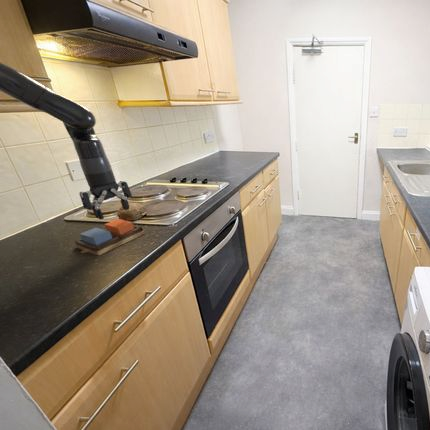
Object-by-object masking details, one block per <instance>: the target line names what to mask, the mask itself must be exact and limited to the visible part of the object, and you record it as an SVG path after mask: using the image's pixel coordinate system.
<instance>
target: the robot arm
mask: <svg viewBox="0 0 430 430" xmlns="http://www.w3.org/2000/svg"><path fill="white" fill-rule="evenodd" d="M0 92H1V93H3V94H4V95H7V96H9V97H11V98H13V99H14V100H17V101H19V102H20V103H23V104H25V105H26V106H28V107H31V108H32V109H35V110H36V111H39V112H42V113H45V114H47V115H48V116H49V115H50V116H51V117H53V118H55V119H57V120H58V121H60V122H62V123H63V126H64V128H65V130H66V132H67V134H68V135H69V138H70V139H71V141H72V144H73V146H74V150H75V152H76V154H77V158H78V160H79V164H80V167H81V170H82V172H83V175H84V177H85V180H86V182H87V185H88V187H89V190H87V191H80V192H78V194H79V198H80V201H81V203H82V206H83V208H84V209H85V210H87V211H92V212H93V215H94V217H95V218H96V219H99V220H104V219H105V217H104V214H103V212H102V210H101V209H102V208H100V207H101V205H102V204H103V203H104V201H107V200H109V199H113V198H116V197H117V198H118V199H119V200H120V204H121V207H123V209H124V210H129V204H128V203H129V201H128V200H129V198H131V197H132V196H133V195H132V192H131V190H130V187H129V185H128V182H127V181H123V180H120V181H119V182H117V181H116V180H117V179H116V177H115V174H114V171H113V167H112V165H111V162H110V161H109V158H108V156H107V154H106V151H105V149H104V146H103V143H102V141H101V140H100V138H98V136H97V134H96V130H95V129H94V127H95V125H96V123H97V120H96V119H97V118H96V116H95V115H94V113H93V112H92V111H91V110H90V109H89V108H87V107H85V106H83V105H81V104H79V103H77V102H76V101H74V100H72V99H70V98H68V97H65V96H63V95H61V94H60V93H58V92H55V90H53V89H51V88H50V87H48V86H46V85H44V84H43V83H41V82H39V81H37V80H36V79H34V78H32V77H30V76H29V75H26V74H24V73H23V72H21V71H20V70H17V69H15V68H13V67H11V66H9V65H7V64H5V63H3V62H0ZM119 188H120V189H121V191H122V193H121V192H119ZM91 195H92V196H93V198H92V200H91ZM91 201H92V202H91Z"/></svg>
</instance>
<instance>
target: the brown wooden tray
mask: <svg viewBox="0 0 430 430" xmlns="http://www.w3.org/2000/svg"><path fill="white" fill-rule="evenodd" d="M133 226H134V229H133V230H131V231H129V232H127V233H124V234H122V235H120V236H119V235H115V234H112V233H111V236H112V238H113V239H111V240H109V241H106V242H104V243H102V244H100V245H97V246H94V245H91V244H88V243H85V242H83V240H82V238H80V239H77V240H75V241H74V243H75V248H76V249H80V250H82V251H85V252H88V253H90V254H94V255H97V256H100V255H103V254H105V253H107V252H109V251H111V250H113V249H116V248H119V247H120V246H122V245H124V244H127V243H129V242H131V241H133V240H135V239H136V238H139V237H141V236H144V235H145V234H146V232H145V230H144V229H143V227H142V226H139V225H136V224H133ZM103 230H106V228H104V229H103ZM106 231H107V230H106Z"/></svg>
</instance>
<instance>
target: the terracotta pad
mask: <svg viewBox="0 0 430 430" xmlns="http://www.w3.org/2000/svg"><path fill="white" fill-rule="evenodd" d="M133 225H134V223H133V222H132V221H125V220H121V219H119V218H117V219H114V220H112V221H109V222H107V223H104V227H105V229H106V230H107V231H110V233H112V234H115V235H119V236H120V235H122V234H124V233H127V232H129V231H131V230H133V229H134V226H133Z"/></svg>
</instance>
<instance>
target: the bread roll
mask: <svg viewBox="0 0 430 430" xmlns="http://www.w3.org/2000/svg"><path fill="white" fill-rule="evenodd" d="M128 204H129V210H124V209H123V207H122V206H120V207H119V208H118V210H117V213H116V217H118V219H121V220H125V221H129V222H132V221H131V220H133V221H137V220H140V219H142V218H141V214H142V213H144V212H146V211H147V210H148V209H147V208H146V206H144V205H143V204H141V203H138V202H128ZM147 212H148V211H147Z"/></svg>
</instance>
